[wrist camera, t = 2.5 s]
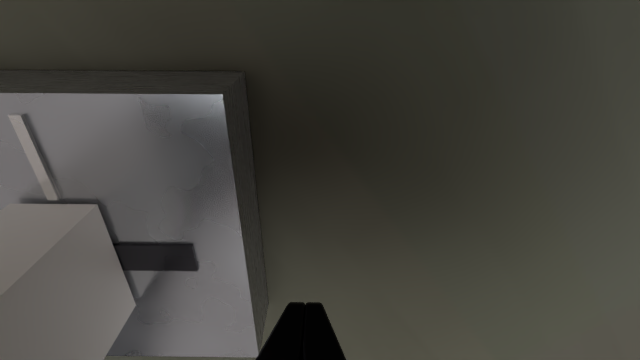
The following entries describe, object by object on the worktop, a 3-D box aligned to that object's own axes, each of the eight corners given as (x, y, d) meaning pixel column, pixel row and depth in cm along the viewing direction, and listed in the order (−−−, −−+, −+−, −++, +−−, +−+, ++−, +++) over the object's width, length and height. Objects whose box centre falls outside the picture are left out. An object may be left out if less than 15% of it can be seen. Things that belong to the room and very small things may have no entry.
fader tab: (135, 305, 11) (11, 515, 7) (64, 304, 11) (-109, 513, 7) (97, 204, 9) (-117, 407, 5) (10, 203, 9) (-286, 404, 5)
